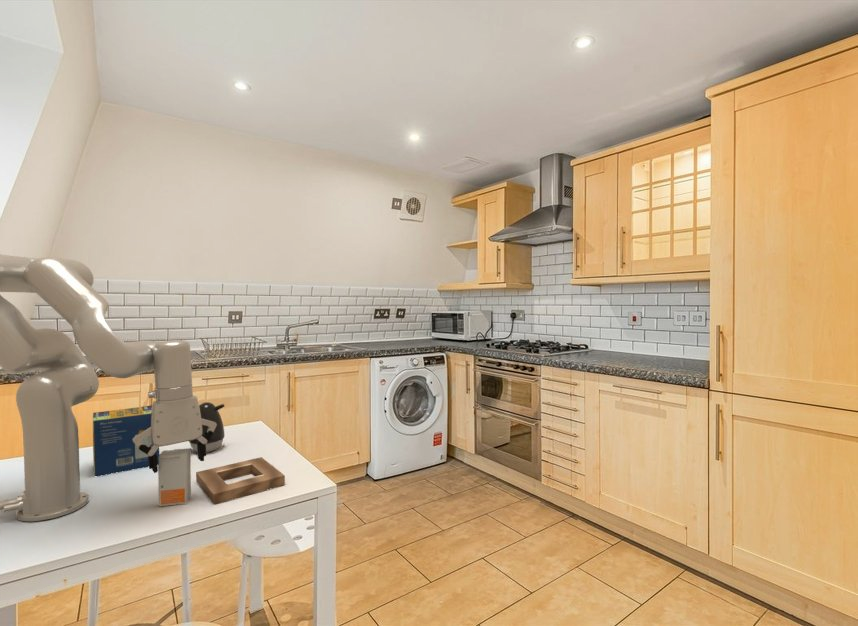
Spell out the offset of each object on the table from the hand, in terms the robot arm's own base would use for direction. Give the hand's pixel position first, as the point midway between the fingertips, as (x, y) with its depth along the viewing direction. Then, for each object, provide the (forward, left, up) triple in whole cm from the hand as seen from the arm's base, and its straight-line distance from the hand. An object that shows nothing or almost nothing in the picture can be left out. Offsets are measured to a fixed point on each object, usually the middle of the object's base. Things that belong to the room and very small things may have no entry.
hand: (178, 465), depth 104 cm
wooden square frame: (+14, +1, -9) cm, 17 cm away
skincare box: (-1, 0, -9) cm, 9 cm away
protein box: (-7, +35, -9) cm, 37 cm away
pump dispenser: (+14, +34, -9) cm, 38 cm away
